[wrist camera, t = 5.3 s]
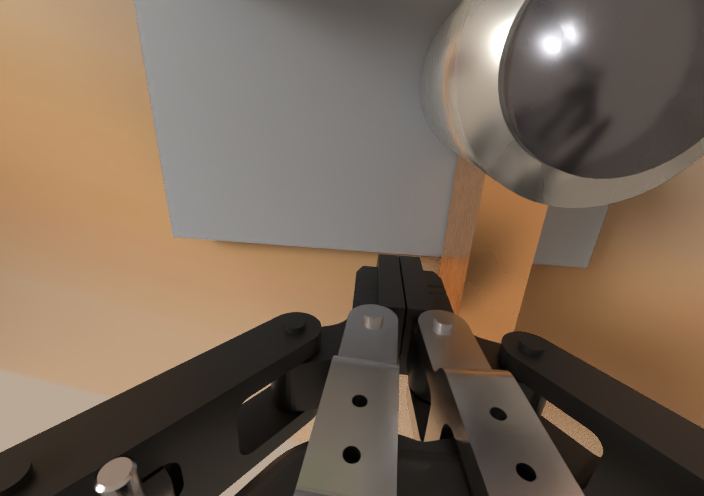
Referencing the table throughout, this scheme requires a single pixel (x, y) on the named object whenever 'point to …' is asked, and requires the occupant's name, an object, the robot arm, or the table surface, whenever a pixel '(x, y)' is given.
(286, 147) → the levelling plate
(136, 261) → the table surface
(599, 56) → the knob
